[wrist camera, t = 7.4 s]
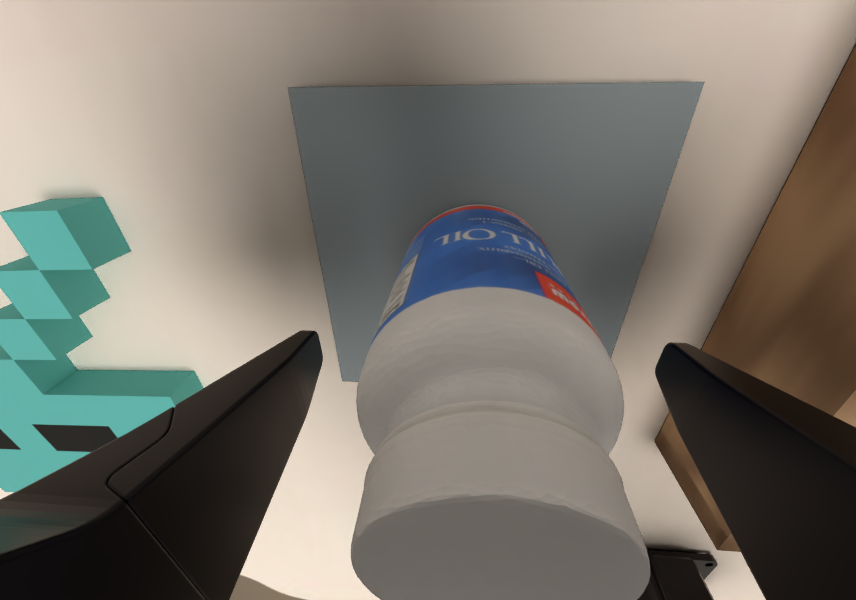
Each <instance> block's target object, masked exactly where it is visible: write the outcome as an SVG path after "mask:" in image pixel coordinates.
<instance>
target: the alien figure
mask: <svg viewBox="0 0 856 600" xmlns="http://www.w3.org/2000/svg"><path fill="white" fill-rule="evenodd" d="M0 215H1V216H2V218H3V219H4V220H5V222H6V223H7V225H8V226H9V228H10V229H11V230H12V232H13V233H14V235H15V236H16V238H17V239H18V241H19V242H20V243H21V245H22V246H23V248H24V249H25V251H26V252H27V253H28V255H29V256H27V257H24V258H22V259H19V260H16V261H14V262H11V263H8V264H6V265H3V266H0V288H1V289H2V290H3V292H4V293H5V294H6V296H7V297H8V298H9V299H10V301H11V302H12V304H10V305H8V306H6V307H3V308H1V309H0V488H1V489H3V490H4V491H5V492H16V491H18V490H20V489H22V488H24V487H26V486H28V485H30V484H32V483H34V482H36V481H37V480H39V479H41V478H43V477H45V476H47V475H49V474H51V473H53V472H55V471H56V470H58V469H60V468H62V467H64V466H66V465H68V464H70V463H72V462H74V461H76V460H77V459H79V458H81V457H83V456H85V455H87V454H89V453H91V452H93V451H95V450H96V449H98V448H100V447H102V446H104V445H106V444H108V443H109V442H111V441H113V440H115V439H117V438H119V437H121V436H123V435H124V434H126V433H128V432H130V431H132V430H133V429H135V428H137V427H139V426H140V425H142V424H144V423H145V422H147V421H149V420H151V419H152V418H154V417H156V416H158V415H159V414H161V413H163V412H164V411H166V410H168V409H169V408H171V407H174V408H175V405H176V404H178V403H180V402H181V401H183V400H185V399H186V398H188V397H190V396H191V395H193V394H195V393H196V392H198V391H200V390H201V389H203V386H202V385H201V383H200V381H199V379H198V377H197V375H196V373H195V371H138V370H77V369H76V367H75V366H74V365H73V363H72V362H71V361H70V359H69V358H68V357H67V355H66V354H67V353H68V352H70V351H71V350H73V349H74V348H76V347H77V346H79V345H80V344H82V343H83V342H85V341H86V340H88V339H89V338H91V337H93V336H92V335H91V333H90V332H89V330H88V329H87V327H86V326H85V324H84V323H83V322H82V320H81V319H80V317H79V315H81V314H82V313H84V312H86V311H88V310H89V309H91V308H93V307H94V306H96V305H98V304H100V303H101V302H103V301H105V300H106V299H108V298H110V296H109V294H108V293H107V291H106V289H105V288H104V286H103V284H102V283H101V281H100V279H99V278H98V276H97V274H96V273H95V271H94V268H96V267H98V266H101V265H103V264H105V263H107V262H109V261H111V260H113V259H115V258H117V257H120V256H122V255H124V254H126V253H128V252H130V251H131V250H130V248H129V246H128V244H127V242H126V240H125V238H124V236H123V234H122V232H121V231H120V229H119V227H118V225H117V223H116V221H115V219H114V217H113V215H112V213H111V212H110V210H109V208H108V206H107V204H106V202H105V200H104V198H103V197H97V198H71V199H50V200H46V201H42V202H38V203H34V204H30V205H26V206H22V207H18V208H15V209H11V210H7V211H3V212H0Z"/></svg>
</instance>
